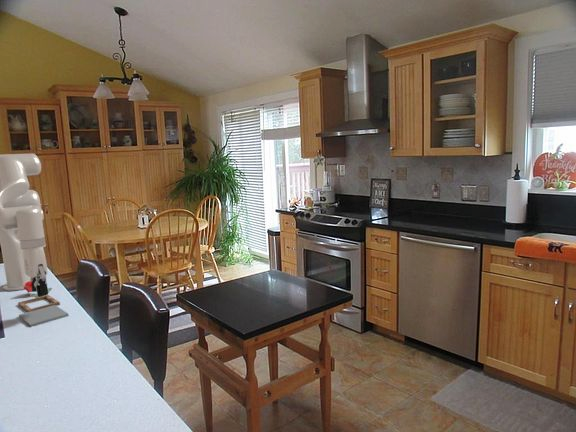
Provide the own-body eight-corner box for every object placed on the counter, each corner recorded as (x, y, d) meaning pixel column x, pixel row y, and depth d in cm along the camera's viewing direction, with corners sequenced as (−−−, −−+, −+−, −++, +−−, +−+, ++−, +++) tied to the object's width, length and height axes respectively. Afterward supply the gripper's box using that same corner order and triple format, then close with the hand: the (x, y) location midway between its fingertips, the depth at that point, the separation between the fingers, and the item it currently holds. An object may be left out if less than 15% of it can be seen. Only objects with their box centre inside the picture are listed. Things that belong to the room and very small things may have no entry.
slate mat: (19, 316, 154) (18, 314, 154) (55, 307, 162) (54, 304, 162) (30, 326, 144) (30, 324, 144) (68, 315, 153) (68, 313, 152)
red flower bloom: (25, 291, 173) (39, 280, 176) (19, 284, 176) (32, 274, 179) (37, 302, 179) (50, 291, 181) (30, 295, 182) (43, 285, 184)
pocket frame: (18, 304, 167) (18, 302, 166) (48, 297, 174) (47, 294, 174) (28, 313, 157) (28, 310, 157) (60, 304, 165) (59, 302, 164)
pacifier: (28, 296, 153) (29, 300, 148) (25, 279, 152) (26, 282, 147) (51, 291, 157) (53, 295, 152) (48, 275, 156) (51, 278, 151)
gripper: (13, 242, 152) (21, 292, 155) (28, 248, 140) (36, 302, 143) (37, 238, 158) (44, 286, 160) (52, 244, 146) (60, 295, 149)
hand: (40, 293), depth 152 cm, fingers closed on pacifier, 5 cm apart
